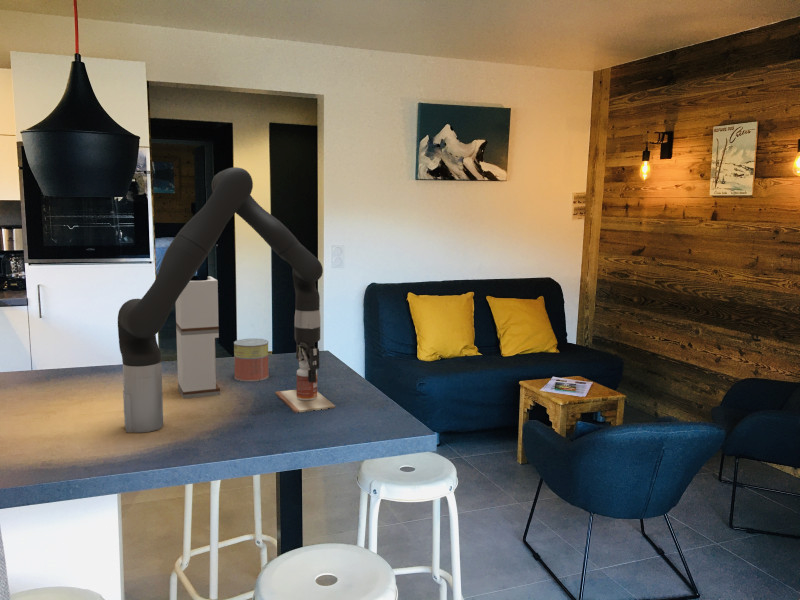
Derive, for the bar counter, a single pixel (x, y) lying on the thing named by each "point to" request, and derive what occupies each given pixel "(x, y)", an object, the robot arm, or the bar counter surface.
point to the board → (303, 402)
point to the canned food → (251, 359)
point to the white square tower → (197, 338)
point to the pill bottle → (305, 384)
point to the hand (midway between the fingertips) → (307, 378)
